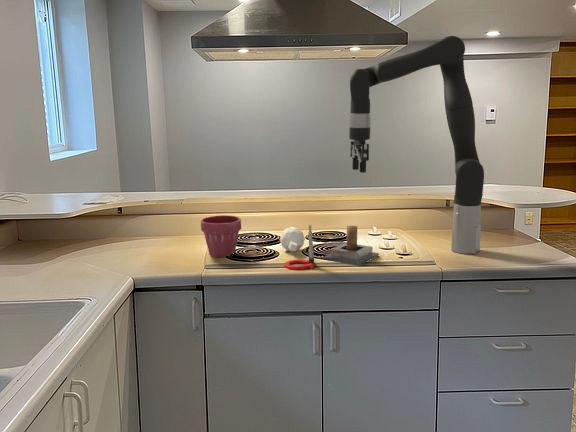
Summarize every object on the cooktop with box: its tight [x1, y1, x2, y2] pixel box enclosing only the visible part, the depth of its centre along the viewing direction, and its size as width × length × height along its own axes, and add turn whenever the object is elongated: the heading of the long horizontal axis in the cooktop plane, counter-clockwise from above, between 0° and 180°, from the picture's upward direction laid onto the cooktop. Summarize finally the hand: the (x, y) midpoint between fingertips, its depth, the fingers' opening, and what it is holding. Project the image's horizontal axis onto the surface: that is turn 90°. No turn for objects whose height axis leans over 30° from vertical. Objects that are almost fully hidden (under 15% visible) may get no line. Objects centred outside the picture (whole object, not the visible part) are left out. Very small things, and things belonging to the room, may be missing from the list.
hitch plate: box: [323, 242, 380, 266], centre depth 196 cm, size 14×14×4 cm
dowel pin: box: [346, 225, 358, 251], centre depth 195 cm, size 4×4×11 cm
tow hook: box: [283, 224, 315, 270], centre depth 186 cm, size 9×14×10 cm
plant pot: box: [200, 214, 242, 258], centre depth 201 cm, size 14×14×13 cm
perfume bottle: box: [279, 226, 306, 253], centre depth 204 cm, size 9×9×12 cm
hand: (359, 171), depth 207 cm, fingers open, 8 cm apart
